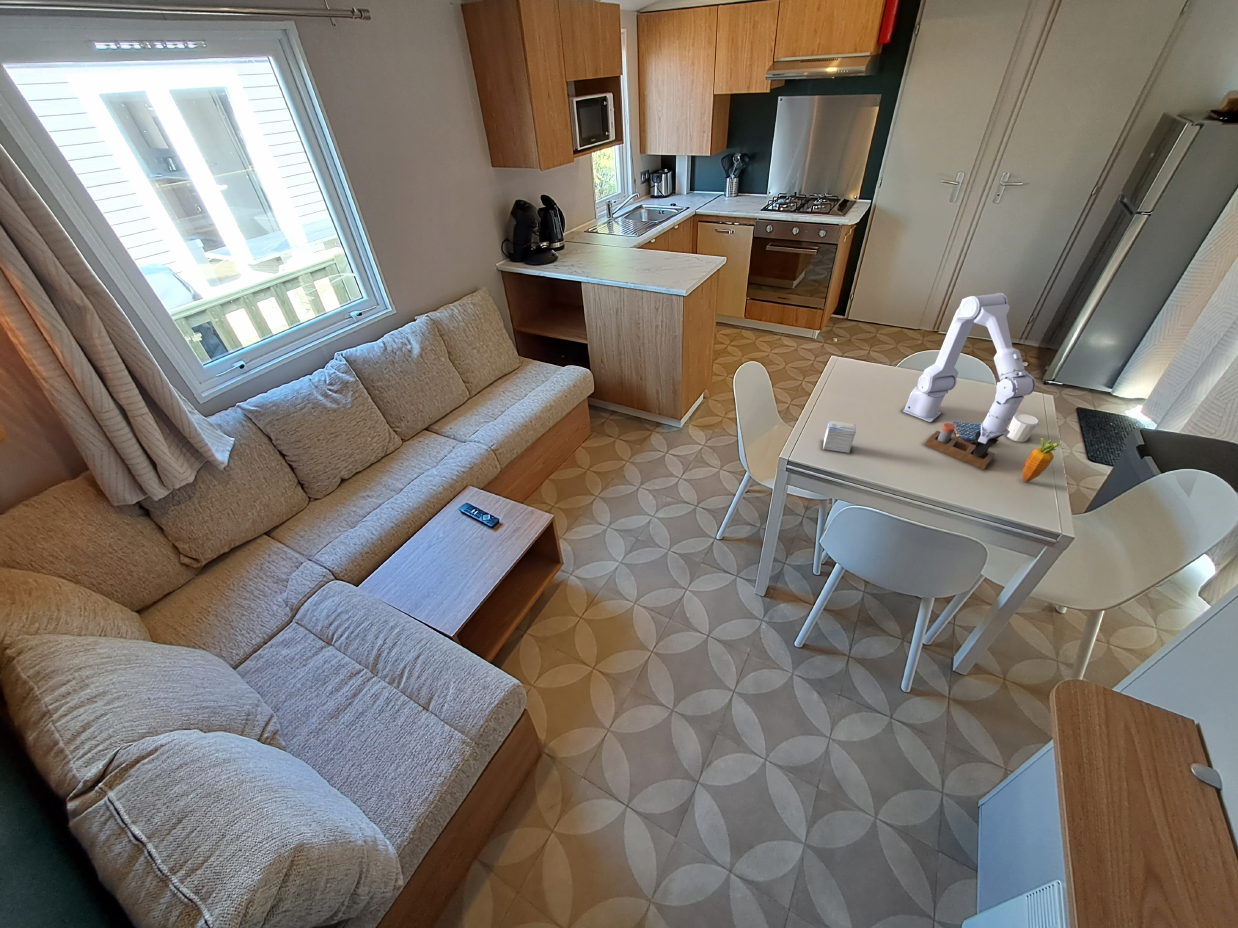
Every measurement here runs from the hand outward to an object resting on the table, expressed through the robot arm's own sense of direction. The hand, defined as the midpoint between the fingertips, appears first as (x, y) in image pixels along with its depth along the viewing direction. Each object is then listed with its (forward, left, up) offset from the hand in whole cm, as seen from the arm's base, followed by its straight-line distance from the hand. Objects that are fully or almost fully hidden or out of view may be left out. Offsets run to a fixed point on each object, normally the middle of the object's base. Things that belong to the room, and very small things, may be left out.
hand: (980, 451), depth 148 cm
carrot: (+13, -1, -3) cm, 14 cm away
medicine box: (-33, -24, -3) cm, 41 cm away
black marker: (0, 0, -3) cm, 3 cm away
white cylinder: (+4, +21, -3) cm, 22 cm away
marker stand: (-5, 0, -3) cm, 6 cm away
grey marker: (-10, 0, -3) cm, 11 cm away
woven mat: (-6, +12, -3) cm, 14 cm away
